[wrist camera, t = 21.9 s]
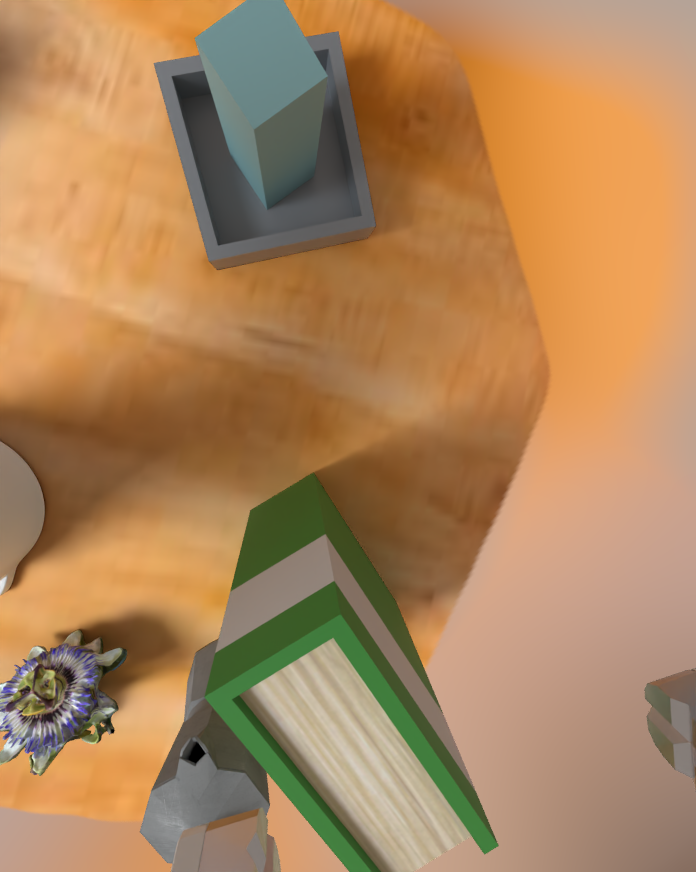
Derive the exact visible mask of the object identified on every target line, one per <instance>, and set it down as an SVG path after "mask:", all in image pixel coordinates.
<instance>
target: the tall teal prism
mask: <svg viewBox="0 0 696 872" xmlns="http://www.w3.org/2000/svg"><path fill="white" fill-rule="evenodd" d="M195 41H196V44H197V48H198V51H199V54H200V57H201V61H202V64H203V67H204V70H205V74H206V77H207V80H208V83H209V87H210V90H211V93H212V96H213V100H214V103H215V106H216V109H217V113H218V116H219V119H220V123H221V126H222V129H223V132H224V136H225V139H226V142H227V145H228V149H229V152H230V155H231V157H232V158H233V160H234V161H235V163H236V164H237V166H238V167H239V169H240V170H241V172H242V173H243V175H244V176H245V178H246V179H247V181H248V182H249V184H250V185H251V187H252V188H253V190H254V191H255V193H256V194H257V196H258V197H259V199H260V200H261V202H262V203H263V205H264V206H265V208H266V209H267V210H268V209H269V208H271V207H272V206H273V205H275V204H276V203H278V202H279V201H280V200H282V199H283V198H284V197H286V196H287V195H289V194H290V193H291V192H293V191H294V190H296V189H297V188H298V187H300V186H301V185H302V184H304V183H305V182H307V181H308V180H309V179H311V178H312V177H313V176H314V173H315V166H316V159H317V151H318V144H319V137H320V130H321V122H322V115H323V108H324V100H325V93H326V86H327V78H328V75H327V74H326V72H325V70H324V69H323V67H322V65H321V64H320V62H319V60H318V58H317V57H316V55H315V53H314V52H313V50H312V48H311V47H310V45H309V43H308V41H307V40H306V38H305V36H304V35H303V33H302V31H301V30H300V28H299V26H298V24H297V23H296V21H295V19H294V18H293V16H292V14H291V13H290V11H289V9H288V7H287V6H286V4H285V2H284V1H283V0H246V1H245V2H244V3H242V4H241V5H239V6H238V7H237V8H235V9H234V10H233V11H231V12H230V13H228V14H227V15H226V16H224V17H223V18H222V19H220V20H219V21H217V22H216V23H215V24H213V25H212V26H211V27H209V28H208V29H206V30H205V31H204V32H202V33H201V34H200V35H198V36H197V37H195Z"/></svg>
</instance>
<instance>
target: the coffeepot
mask: <svg viewBox="0 0 696 872" xmlns="http://www.w3.org/2000/svg"><path fill="white" fill-rule="evenodd" d="M217 643H218V640H216V641H213V642H211V643H210V644H208V645H207V646H205V647H204V648H203V649H201V650H199V651H198V652H196V653H195V657H194V660H193V664H192V668H191V671H190V675H189V678H188V682H187V694H186V705H185V717H184V722H183V725H182V727H181V729H180V731H179V733H178V735H177V737H176V739H175V742H174V744H173V746H172V748H171V750H170V752H169V754H168V756H167V758H166V761H165V763H164V765H163V767H162V769H161V771H160V773H159V775H158V778H157V780H156V782H155V784H154V786H153V788H152V790H151V794H150V797H149V801H148V804H147V808H146V811H145V815H144V819H143V823H142V826H141V830H140V833H141V834H142V835H143V836H144V837H145V838H146V840H147V841H148V842H149V843H150V844H151V845H152V846H153V847H154V849H155V850H156V851H157V852H158V853H159V854H160V855H161V856H162V858H163V859H164V860H165V861H166V862H167V863H172V864H173V860H174V856H175V851H176V847H177V843H178V840H179V838H180V836H181V834H182V832H183V830H186V829H190V828H193V827H196V826H200V825H203V824H206V823H209V822H213V821H216V820H220V819H223V818H227V817H230V816H234V815H237V814H241V813H244V812H248V811H251V810H255V809H258V808H263V809H264V812H265V814H266V816H267V812H268V809H269V806H270V803H269V793H268V783H267V772H266V771H265V770H264V768H263V767H262V766H261V765H260V764H259V762H258V761H257V760H256V759H255V758H254V756H253V755H252V754H251V753H250V752H249V750H248V749H247V748H246V747H245V746H244V744H243V743H242V742H241V741H240V739H239V738H238V737H237V736H236V735H235V733H234V732H233V731H232V730H231V729H230V727H229V726H228V725H227V724H226V723H225V721H224V720H223V719H222V718H221V717H220V715H219V714H218V713H217V712H216V711H215V709H214V708H213V707H212V706H211V705H210V703H209V702H208V701H207V700H206V699H205V697H204V696H205V692H206V688H207V684H208V680H209V676H210V672H211V668H212V664H213V660H214V656H215V651H216V647H217Z"/></svg>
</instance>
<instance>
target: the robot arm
mask: <svg viewBox="0 0 696 872" xmlns="http://www.w3.org/2000/svg"><path fill="white" fill-rule="evenodd" d="M44 516H45V505H44V498H43V494H42V490H41V487H40V485H39V482H38V480H37V478H36V476H35V475H34V473H33V471H32V470H31V469H30V467H29V466H28V464H27V463H26V462H25V461H24V460H23V459H22V458H21V457H20V456H19V455H18V454H17V453H16V452H15V451H14V450H12V449H11V448H10V447H8V446H7V445H5V444H4V443H2V442H1V441H0V595H2V594H4V593H5V592H6V591H8V590H9V588H10V586H11V584H12V582H13V579H14V575H15V571H16V567H17V565H18V564H19V562H20V561H21V560H22V559H23V558H24V557H25V555H26V554H27V553H28V552H29V551H30V550H31V549H32V547H33V546H34V544H35V543H36V541H37V539H38V538H39V535H40V533H41V530H42V527H43V523H44ZM645 699H646V700H647V701H648V702H649V703H650V704H651V705H652V708H651V709H650V712H649V713H648V715H647V722H648V729H649V732H650V734H651V736H652V739H653V741H654V743H655V745H656V747H657V748H658V749H659V751H660V752H661V753H662V755H663V757H664V758H665V759H666V760H667V761H668V762H669V764H671V766H672V767H673V768H674V769H675V770H677V771H679V772H681V773H683V774H685V775H687V776H689V777H691V778H693V782H694V786H695V790H696V668H694V669H691V670H686V671H683V672H680V673H677V674H674V675H671V676H668V677H665V678H662V679H659V680H656V681H653V682H650V683H648V684H647V685H646V687H645ZM267 824H268V820H267V818H266V814H265V812H264V809H263V808H258V809H255V810H251V811H248V812H244V813H241V814H237V815H234V816H230V817H227V818H223V819H220V820H216V821H213V822H209V823H206V824H203V825H200V826H196V827H193V828H190V829H186V830H183V832H182V834H181V836H180V838H179V840H178V843H177V847H176V851H175V856H174V860H173V864H172V869H171V872H281V868H280V859H279V855H278V850H277V846H276V843H275V840H274V838H273V837H272V836H270V835H268V834H267V826H268V825H267Z"/></svg>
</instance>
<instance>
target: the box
mask: <svg viewBox="0 0 696 872" xmlns="http://www.w3.org/2000/svg"><path fill="white" fill-rule="evenodd" d="M305 38H306V40H307V41H308V43H309V45H310V47H311V48H312V50H313V52H314V53H315V55H316V57H317V58H318V60H319V62H320V64H321V65H322V67H323V69H324V70H325V72H326V74H327V75H328V78H327V86H326V93H325V100H324V108H323V115H322V122H321V130H320V137H319V144H318V151H317V159H316V166H315V173H314V176H313V177H312V178H311V179H309V180H308V181H307V182H305V183H304V184H302V185H301V186H300V187H298V188H297V189H296V190H294V191H293V192H291V193H290V194H289V195H287V196H286V197H284V198H283V199H282V200H280V201H279V202H278V203H276V204H275V205H273V206H272V207H271V208H269V209H268V210H267V209H266V208H265V206H264V205H263V203H262V202H261V200H260V199H259V197H258V196H257V194H256V193H255V191H254V190H253V188H252V187H251V185H250V184H249V182H248V181H247V179H246V178H245V176H244V175H243V173H242V172H241V170H240V169H239V167H238V166H237V164H236V163H235V161H234V160H233V158H232V157H231V155H230V152H229V149H228V145H227V142H226V139H225V136H224V132H223V129H222V126H221V123H220V119H219V116H218V113H217V109H216V106H215V103H214V100H213V96H212V93H211V90H210V87H209V83H208V80H207V77H206V74H205V70H204V67H203V64H202V61H201V57H200V55H198V56H192V57H186V58H181V59H175V60H169V61H163V62H157V63H154V66H155V70H156V73H157V77H158V80H159V84H160V88H161V91H162V95H163V98H164V102H165V105H166V109H167V113H168V116H169V120H170V123H171V127H172V131H173V134H174V138H175V141H176V145H177V148H178V152H179V156H180V159H181V163H182V166H183V170H184V174H185V177H186V181H187V184H188V188H189V191H190V195H191V199H192V202H193V206H194V209H195V213H196V217H197V220H198V224H199V227H200V231H201V234H202V238H203V242H204V245H205V249H206V252H207V256H208V260H209V262H210V263H211V264H212V265H213V266H214V267H215V268H216V269H217V270H220V269H225V268H230V267H235V266H239V265H244V264H249V263H253V262H258V261H263V260H267V259H272V258H277V257H282V256H286V255H291V254H296V253H300V252H305V251H310V250H314V249H319V248H324V247H329V246H333V245H338V244H343V243H347V242H352V241H357V240H361V239H366V238H368V237H369V236H370V234H371V233H372V231H373V230H374V228H375V227H376V223H375V217H374V212H373V207H372V202H371V197H370V192H369V187H368V181H367V176H366V171H365V166H364V161H363V156H362V151H361V145H360V140H359V135H358V130H357V125H356V120H355V114H354V109H353V104H352V99H351V94H350V89H349V84H348V78H347V73H346V68H345V63H344V58H343V53H342V48H341V42H340V37H339V32H332V33H326V34H321V35H315V36H309V37H305Z"/></svg>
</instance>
